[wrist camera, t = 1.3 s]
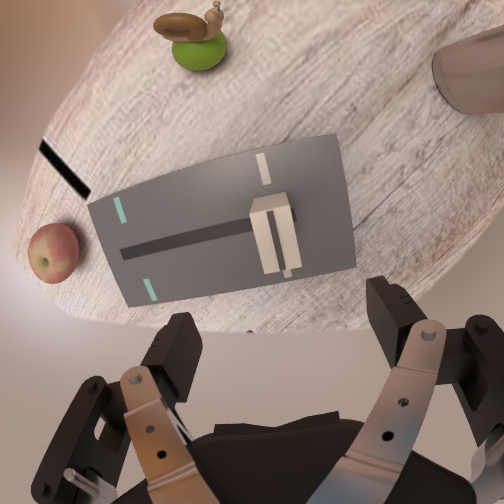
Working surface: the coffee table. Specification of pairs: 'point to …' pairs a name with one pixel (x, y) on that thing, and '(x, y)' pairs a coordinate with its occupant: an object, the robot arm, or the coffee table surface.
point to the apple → (53, 253)
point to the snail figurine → (194, 38)
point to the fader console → (225, 223)
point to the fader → (275, 233)
